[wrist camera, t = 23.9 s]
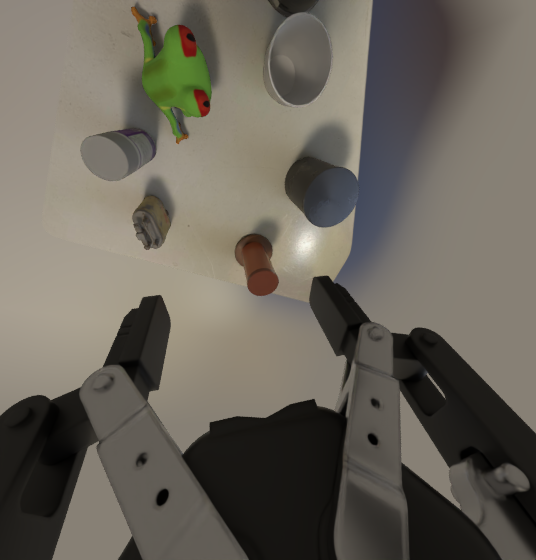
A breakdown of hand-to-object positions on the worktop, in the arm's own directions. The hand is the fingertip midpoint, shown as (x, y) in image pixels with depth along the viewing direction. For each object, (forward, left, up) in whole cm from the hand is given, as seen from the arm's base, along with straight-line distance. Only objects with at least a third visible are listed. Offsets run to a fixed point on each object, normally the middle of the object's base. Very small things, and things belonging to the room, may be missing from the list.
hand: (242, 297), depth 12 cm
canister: (+10, +16, -35) cm, 40 cm away
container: (+5, -12, -36) cm, 39 cm away
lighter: (+14, -5, -36) cm, 39 cm away
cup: (-17, 0, -36) cm, 40 cm away
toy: (-6, -11, -36) cm, 38 cm away
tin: (-9, +15, -36) cm, 40 cm away
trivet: (+10, +16, -36) cm, 41 cm away
